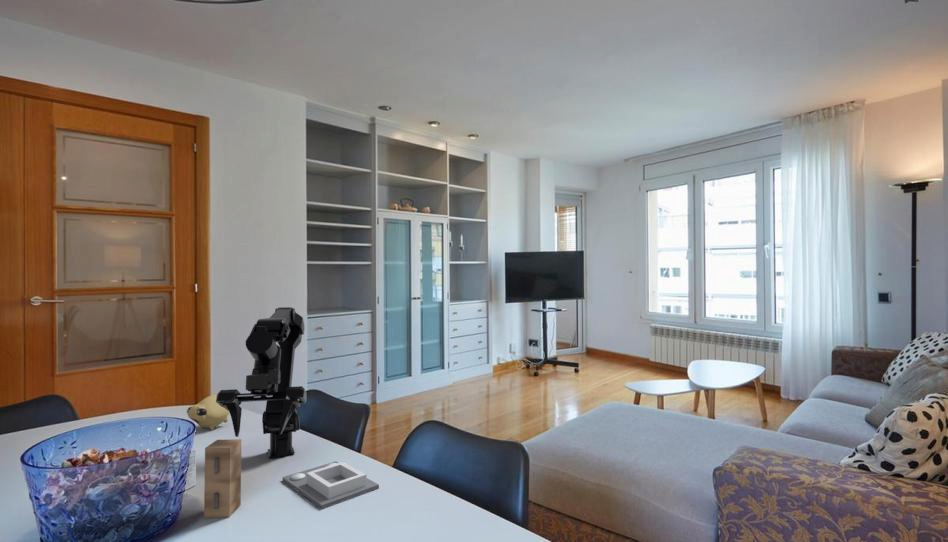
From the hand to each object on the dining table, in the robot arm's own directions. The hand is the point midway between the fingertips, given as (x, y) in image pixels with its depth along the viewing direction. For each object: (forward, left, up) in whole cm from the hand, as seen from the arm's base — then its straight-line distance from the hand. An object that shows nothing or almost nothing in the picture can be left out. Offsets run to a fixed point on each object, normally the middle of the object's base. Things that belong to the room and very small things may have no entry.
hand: (258, 435), depth 105 cm
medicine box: (-13, -17, -13) cm, 25 cm away
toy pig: (-60, -12, -13) cm, 63 cm away
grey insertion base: (+2, +15, -13) cm, 20 cm away
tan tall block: (+5, -7, -13) cm, 16 cm away
